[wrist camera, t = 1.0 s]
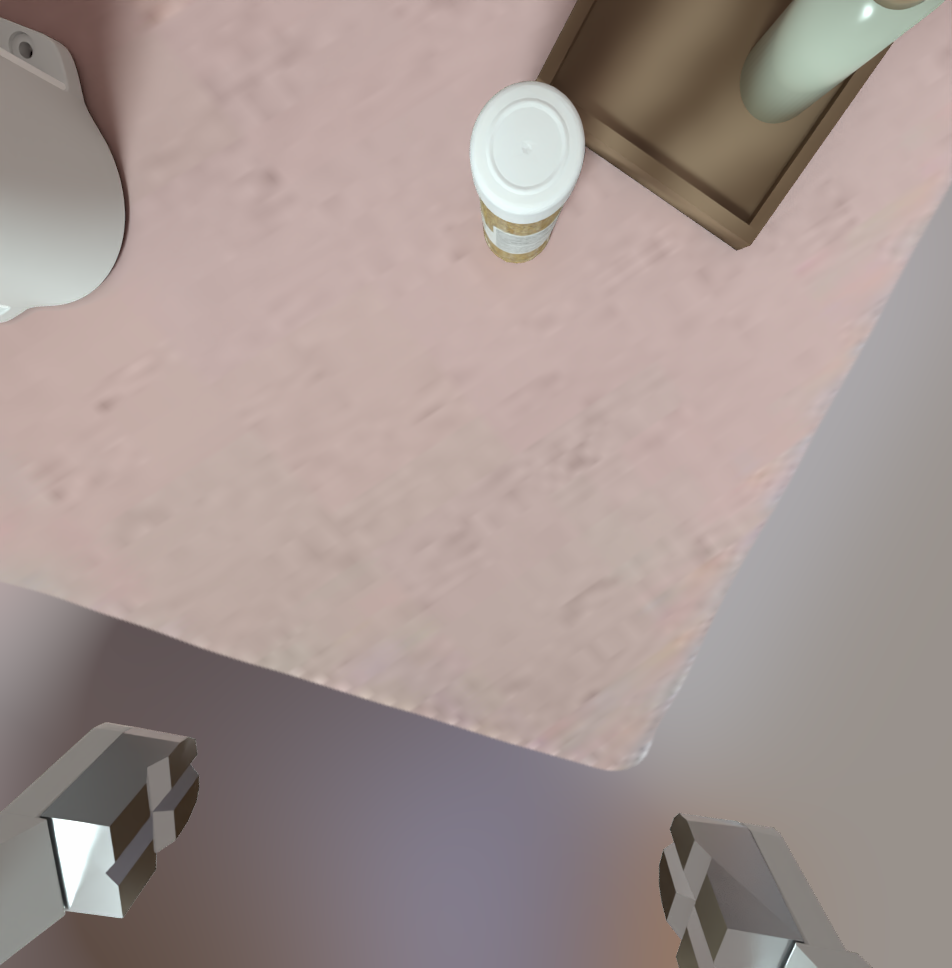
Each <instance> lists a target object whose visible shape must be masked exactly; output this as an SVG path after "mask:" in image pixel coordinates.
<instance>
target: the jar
mask: <svg viewBox="0 0 952 968" xmlns="http://www.w3.org/2000/svg"><path fill="white" fill-rule="evenodd" d="M944 1H945V0H793V1H792V2H791V3H790V4H789V6H788V7H787V8H786V9H785V10H784V12H783V13H782V14H781V15H780V16H779V17H778V19H777V20H776V21H775V22H774V23H773V25H772V26H771V27H770V28H769V29H768V30H767V32H766V33H765V34H764V35H763V36H762V38H761V39H760V40H759V41H758V42H757V43H756V45H755V46H754V47H753V48H752V50H751V51H750V53H749V54H748V56H747V58H746V60H745V63H744V65H743V68H742V72H741V77H740V92H741V97H742V101H743V103H744V105H745V107H746V109H747V110H748V112H749V113H750V114H751V115H752V116H753V117H755V118H756V119H758V120H760V121H762V122H765V123H772V124H775V123H782V122H786V121H788V120H791V119H793V118H794V117H796V116H798V115H799V114H800V113H802V112H803V111H804V110H806V109H807V108H808V107H809V106H811V105H812V104H813V103H815V102H816V101H817V100H819V99H820V98H821V97H822V96H824V95H825V94H826V93H828V92H829V91H830V90H831V89H833V88H834V87H835V86H837V85H838V84H839V83H841V82H842V81H843V80H844V79H846V78H847V77H848V76H850V75H851V74H852V73H853V72H855V71H856V70H857V69H859V68H860V67H861V66H863V65H864V64H865V63H866V62H868V61H869V60H870V59H872V58H873V57H874V56H875V55H877V54H878V53H879V52H881V51H882V50H883V49H884V48H886V47H887V46H888V45H890V44H891V43H892V42H894V41H895V40H896V39H897V38H899V37H900V36H901V35H903V34H904V33H905V32H906V31H908V30H909V29H910V28H912V27H913V26H914V25H916V24H917V23H918V22H919V21H921V20H922V19H923V18H925V17H926V16H927V15H928V14H930V13H931V12H932V11H934V10H935V9H936V8H937V7H938V6H940V5H941V4H942V3H943V2H944Z"/></svg>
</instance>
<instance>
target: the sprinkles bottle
mask: <svg viewBox="0 0 952 968" xmlns="http://www.w3.org/2000/svg"><path fill="white" fill-rule="evenodd" d="M584 155H585V136H584V130H583V125H582V122H581V119H580V116H579V114H578V112H577V110H576V108H575V107H574V105H573V104H572V102H571V101H570V100H569V99H568V98H567V97H566V95H564V94H563V93H562V92H561V91H559V90H558V89H556V88H555V87H553V86H551V85H549V84H545V83H542V82H537V81H524V82H519V83H515V84H512V85H510V86H507V87H505V88H504V89H502V90H501V91H499V92H498V93H497V94H495V95H494V96H493V97H492V98H491V99H490V100H489V101H488V102H487V103H486V105H485V106H484V108H483V109H482V110H481V112H480V114H479V116H478V118H477V120H476V122H475V125H474V128H473V131H472V136H471V141H470V163H471V171H472V176H473V181H474V185H475V188H476V190H477V193H478V195H479V199H480V208H481V215H482V221H483V229H484V236H485V240H486V242H487V244H488V246H489V247H490V249H491V251H492V252H493V253H494V254H495V255H496V256H498V257H499V258H501V259H503V260H504V261H506V262H513V263H523V262H526V261H529V260H531V259H533V258H535V257H536V256H537V255H538V254H539V253H541V251H542V250H543V249H544V248H545V246H546V245H547V243H548V241H549V238H550V235H551V231H552V229H553V227H554V225H555V223H556V221H557V219H558V217H559V214H560V212H561V210H562V207H563V205H564V203H565V202H566V201H567V199H568V198H569V196H570V195H571V193H572V191H573V189H574V187H575V185H576V182H577V180H578V178H579V175H580V172H581V168H582V165H583V160H584Z"/></svg>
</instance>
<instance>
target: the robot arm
mask: <svg viewBox="0 0 952 968" xmlns="http://www.w3.org/2000/svg"><path fill="white" fill-rule="evenodd" d="M31 51H33V54H32V57H31V58H30V53H31ZM124 225H125V206H124V197H123V190H122V185H121V181H120V177H119V173H118V170H117V167H116V164H115V162H114V159H113V156H112V154H111V152H110V150H109V147H108V145H107V143H106V142H105V140H104V138H103V136H102V134H101V133H100V131H99V129H98V128H97V126H96V124H95V123H94V121H93V119H92V117H91V116H90V114H89V112H88V110H87V107H86V105H85V103H84V99H83V94H82V89H81V85H80V81H79V77H78V73H77V69H76V66H75V63H74V61H73V58H72V56H71V54H70V53H69V51H68V50H67V48H66V47H65V46H64V45H62V44H61V43H59V42H58V41H56V40H54V39H52V38H50V37H48V36H46V35H44V34H42V33H40V32H37V31H35V30H32V29H29V28H27V27H24V26H22V25H19V24H17V23H14V22H11V21H9V20H6V19H4V18H1V17H0V323H2V322H6V321H8V320H10V319H12V318H14V317H16V316H17V315H19V314H21V313H22V312H23V311H25V310H26V309H28V308H32V307H39V306H56V305H62V304H67V303H70V302H73V301H76V300H78V299H81V298H82V297H84V296H86V295H88V294H89V293H90V292H92V291H93V290H94V289H96V288H97V287H98V286H99V285H100V284H101V283H102V282H103V281H104V279H105V278H106V277H107V275H108V274H109V272H110V271H111V269H112V267H113V266H114V264H115V261H116V259H117V257H118V254H119V251H120V248H121V244H122V240H123V234H124ZM196 756H197V746H196V739H193V738H190V737H185V736H180V735H175V734H169V733H164V732H159V731H153V730H148V729H142V728H137V727H131V726H125V725H119V724H114V723H108V722H106V723H103V724H101V725H99V726H97V727H95V728H93V729H92V730H91V731H90V732H89V733H87V734H86V735H85V736H84V737H83V738H82V739H81V740H80V741H79V742H77V743H76V744H75V745H74V746H73V747H72V748H71V749H70V750H69V751H68V752H67V753H65V754H64V755H63V756H62V757H61V758H60V759H59V760H58V761H57V762H56V763H54V765H52V766H51V767H50V768H49V769H48V770H47V771H46V772H45V773H44V774H42V775H41V776H40V777H39V778H38V779H37V780H36V781H35V782H34V783H33V784H31V786H29V787H28V788H27V789H26V790H25V791H24V792H23V793H22V794H21V795H20V796H19V797H17V798H16V799H15V800H14V801H13V802H12V803H11V804H10V805H8V806H7V807H6V808H5V809H4V810H3V811H0V964H2V963H3V962H4V961H5V960H7V959H8V958H9V957H11V956H12V955H13V954H15V953H16V952H17V951H19V950H20V949H21V948H23V947H24V946H25V945H26V944H28V943H29V942H30V941H32V940H33V939H34V938H36V937H37V936H38V935H39V934H41V933H42V932H43V931H45V930H46V929H47V928H49V927H50V926H51V925H53V924H54V923H55V922H56V921H58V920H59V919H60V918H62V917H63V916H64V915H65V911H73V912H80V913H87V914H95V915H103V916H110V917H117V918H123V917H124V916H125V914H126V913H127V911H128V910H129V908H130V907H131V906H132V904H133V902H134V901H135V900H136V898H137V897H138V895H139V894H140V892H141V891H142V889H143V888H144V886H145V885H146V883H147V882H148V881H149V879H150V878H151V876H152V875H153V873H154V872H155V870H156V855H157V852H159V851H160V850H162V849H163V848H165V847H166V846H168V845H169V844H171V843H172V842H174V841H175V840H176V839H177V838H178V836H179V835H180V833H181V832H182V830H183V828H184V827H185V825H186V824H187V822H188V820H189V818H190V816H191V813H192V811H193V808H194V806H195V804H196V802H197V797H198V791H199V775H198V773H197V772H196V771H195V770H194V768H193V767H192V766H191V762H192V761H193V760H194V758H195V757H196ZM670 831H671V834H672V837H673V841H674V842H673V843H672V844H670V845H669V846H667V847H666V848H665V849H663V853H662V857H661V860H660V864H659V888H660V895H661V901H662V906H663V909H664V913H665V917H666V921H667V922H668V924H669V925H670V926H671V927H672V929H673V930H674V931H675V932H676V934H677V935H678V936H679V938H680V939H681V943H680V946H679V949H678V952H677V955H676V958H677V962H678V965H679V968H872V967H871V966H870V965H869V964H868V963H867V962H866V961H865V960H864V959H863V958H862V957H861V956H860V955H859V954H858V953H855V952H850V951H846V949H845V947H844V946H843V944H842V942H841V940H840V939H839V937H838V935H837V933H836V931H835V930H834V928H833V926H832V924H831V922H830V921H829V919H828V917H827V915H826V914H825V912H824V910H823V908H822V906H821V904H820V903H819V901H818V899H817V897H816V896H815V894H814V892H813V890H812V888H811V887H810V885H809V883H808V881H807V879H806V878H805V876H804V874H803V872H802V871H801V869H800V867H799V865H798V863H797V861H796V860H795V858H794V856H793V854H792V853H791V851H790V849H789V847H788V845H787V844H786V842H785V840H784V838H783V837H782V835H781V834H780V833H779V832H778V831H777V830H776V829H775V828H773V827H767V826H760V825H754V824H747V823H739V822H737V821H731V820H724V819H717V818H710V817H702V816H696V815H689V814H682V813H679V814H678V815H677V816H675V817H674V819H673V822H672V825H671V827H670Z"/></svg>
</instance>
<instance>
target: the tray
mask: <svg viewBox="0 0 952 968" xmlns="http://www.w3.org/2000/svg"><path fill="white" fill-rule="evenodd" d="M792 1H793V0H578V1H577V3H576V4H575V6H574V8H573V10H572V12H571V14H570V16H569V18H568V20H567V22H566V24H565V26H564V27H563V29H562V31H561V33H560V35H559V37H558V39H557V41H556V43H555V45H554V47H553V49H552V51H551V52H550V54H549V56H548V58H547V60H546V62H545V64H544V66H543V68H542V70H541V72H540V74H539V75H538V77H537V79H536V81H537V82H542V83H545V84H549V85H551V86H553V87H555V88H556V89H558V90H559V91H561V92H562V93H563V94H564V95H566V97H567V98H568V99H569V100H570V101H571V102H572V104H573V105H574V107H575V108H576V110H577V112H578V114H579V116H580V119H581V122H582V125H583V130H584V136H585V146H586V147H588V148H589V149H591V150H592V151H594V152H595V153H596V154H598V155H599V156H601V157H602V158H604V159H605V160H607V161H608V162H609V163H611V164H612V165H614V166H615V167H617V168H618V169H620V170H621V171H622V172H624V173H625V174H627V175H628V176H630V177H631V178H633V179H634V180H636V181H637V182H638V183H640V184H641V185H643V186H644V187H646V188H647V189H649V190H650V191H651V192H653V193H654V194H656V195H657V196H659V197H660V198H662V199H663V200H664V201H666V202H667V203H669V204H670V205H672V206H673V207H675V208H676V209H677V210H679V211H680V212H682V213H683V214H685V215H686V216H688V217H689V218H691V219H692V220H693V221H695V222H696V223H698V224H699V225H701V226H702V227H704V228H705V229H706V230H708V231H709V232H711V233H712V234H714V235H715V236H717V237H718V238H719V239H721V240H722V241H724V242H725V243H727V244H728V245H730V246H731V247H733V248H734V249H735V250H740V249H742V248H745V247H747V246H750V245H751V244H752V243H753V241H754V240H755V238H756V237H757V236H758V234H759V233H760V231H761V230H762V228H763V227H764V226H765V224H766V223H767V221H768V220H769V218H770V217H771V216H772V214H773V213H774V211H775V210H776V209H777V207H778V206H779V204H780V203H781V201H782V200H783V199H784V197H785V196H786V194H787V193H788V191H789V190H790V189H791V187H792V186H793V184H794V183H795V182H796V180H797V179H798V177H799V176H800V174H801V173H802V172H803V170H804V169H805V167H806V166H807V164H808V163H809V162H810V160H811V159H812V157H813V156H814V154H815V153H816V152H817V150H818V149H819V147H820V146H821V145H822V143H823V142H824V140H825V139H826V137H827V136H828V135H829V133H830V132H831V130H832V129H833V127H834V126H835V125H836V123H837V122H838V120H839V119H840V118H841V116H842V115H843V113H844V112H845V110H846V109H847V108H848V106H849V105H850V103H851V102H852V100H853V99H854V98H855V96H856V95H857V93H858V92H859V91H860V89H861V88H862V86H863V85H864V83H865V82H866V81H867V79H868V78H869V76H870V75H871V73H872V72H873V71H874V69H875V68H876V66H877V65H878V64H879V62H880V61H881V59H882V58H883V56H884V55H885V54H886V52H887V51H888V49H889V48H890V46H891V45H892V44H893V42H892V43H891V44H890V45H888V46H887V47H886V48H884V49H883V50H882V51H881V52H879V53H878V54H877V55H875V56H874V57H873V58H872V59H870V60H869V61H868V62H866V63H865V64H864V65H863V66H861V67H860V68H859V69H857V70H856V71H855V72H853V73H852V74H851V75H850V76H848V77H847V78H846V79H844V80H843V81H842V82H841V83H839V84H838V85H837V86H835V87H834V88H833V89H831V90H830V91H829V92H828V93H826V94H825V95H824V96H822V97H821V98H820V99H819V100H817V101H816V102H815V103H813V104H812V105H811V106H809V107H808V108H807V109H806V110H804V111H803V112H802V113H800V114H799V115H798V116H796V117H794V118H793V119H791V120H788V121H786V122H782V123H775V124H772V123H765V122H762V121H760V120H758V119H756V118H755V117H753V116H752V115H751V114H750V113H749V112H748V110H747V109H746V107H745V105H744V103H743V101H742V97H741V92H740V77H741V72H742V68H743V65H744V63H745V60H746V58H747V56H748V54H749V53H750V51H751V50H752V48H753V47H754V46H755V45H756V43H757V42H758V41H759V40H760V39H761V38H762V36H763V35H764V34H765V33H766V32H767V30H768V29H769V28H770V27H771V26H772V25H773V23H774V22H775V21H776V20H777V19H778V17H779V16H780V15H781V14H782V13H783V12H784V10H785V9H786V8H787V7H788V6H789V4H790V3H791V2H792Z"/></svg>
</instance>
